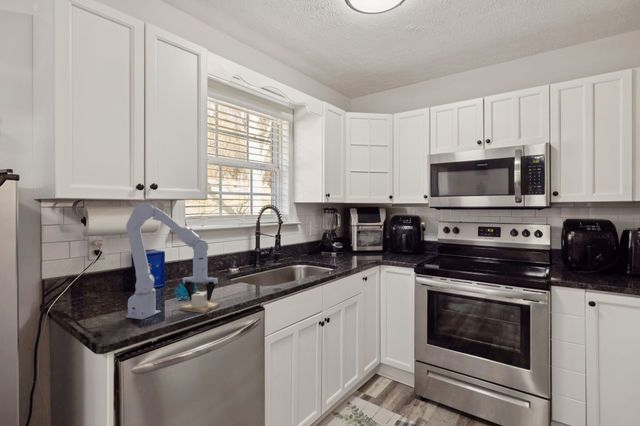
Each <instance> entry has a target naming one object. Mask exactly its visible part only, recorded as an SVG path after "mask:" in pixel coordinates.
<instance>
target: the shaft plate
mask: <svg viewBox="0 0 640 426" xmlns="http://www.w3.org/2000/svg"><path fill="white" fill-rule="evenodd" d="M220 305H221V304H220V303H218V302H209V301H208V304H207V305H206V306H205V307H192V302H190V303H188V304H186V305H182V306H180V307H179V308H180V309H179V310H180V311H186V312H195V313H202V314H206V313H208V312H209V311H212V310H213V309H216V308H218V307H220Z"/></svg>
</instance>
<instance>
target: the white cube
mask: <svg viewBox="0 0 640 426" xmlns="http://www.w3.org/2000/svg"><path fill="white" fill-rule="evenodd" d="M208 302H209V301H207V291H199V292H196V293H194V294H193V295H192V300H191V303H192V307H205V306H206V305H207V304H208Z"/></svg>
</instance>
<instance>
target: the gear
mask: <svg viewBox="0 0 640 426" xmlns="http://www.w3.org/2000/svg"><path fill="white" fill-rule="evenodd" d="M184 284H185V283H183V284H182V283H178V286H177V287H175V289H174V290H175V292H174V293H173V294H174V295H175V296H176V297H175V298H176V299H179V300H180V301H183V300H184V299H185V301H188V300H189V295H188V292H187V290H186V288H185V287H184ZM196 292H200V290H199V289H198V286H197V285H196V284H195V285H194V293H196Z"/></svg>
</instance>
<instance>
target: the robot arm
mask: <svg viewBox="0 0 640 426" xmlns="http://www.w3.org/2000/svg"><path fill="white" fill-rule="evenodd" d="M151 218H152V220H153V221H158V222H161V223H162V224H164V225H165V226H167V227H168V228H169V229H171V230H172V231H173V232H175V233H176V236H177V237H176V238H177V239H179V240H180V241H181V242H183V244H185V245H187V246H188V247H189V248H191V249H192V250H193V258H192V276H189V277H186V276H185V277H183V278H182V283H183V285H184V287H185V288H186V290H187V292H188V295H189V297H188V300H189V301H192V295H193V294H194V290H195V289H194V285H195V286H196V283H198V284H199V283H200V284H206V285H205V287H206V292H207V301H208V302H209V301H211V300H212V295H213V292H214V289H215V287H216V285H217V284H218V283H219V277H210V276H208V250H209V246H208V243H207V241H206V240H205V239H204V238H202V236H201V235H198V234H197V233H196V232H195V231H193V228H191V227H188V226H181V225H180V224H179V223H177V221H176V220H174V219H173V218H172V217H171V216H169V215H168V214H167V213H165V212H164V211H163V210H161V209H159V208H158V207H156V206H154V205H152V203H148V202H142V203H139V204H138V205H136V206H135V208H133V210H132V212H131V214H130V217H129V218H128V221H127V223H126V224H125V228H126V233H127V237H128V240H129V241H128V242H129V245H130V246H129V247H130V251H131V255H132V259H133V264H134V269H135V277H136V282H135V286H134V287H135V291H134V294H132V295H131V296H130V297H129V298H128V300H127V315H126V316H125V317H126V318H131V319H137V320H144V319H146V318H149V317H152V316H154V315H156V314H160V313H161V312H162V311H161V310H157V309H156V307H157V306H156V304H157V303H156V299H157V296H156V288H154V287H155V281H156V280H155V277H154V275H153V274H152V273H151V269H150V266H149V261H148V257H147V252H146V248H145V243H144V238H143V234H142V231H141V229H142V226H144V224H145V223H146V221H148V220H150V219H151ZM184 283H185V284H184Z"/></svg>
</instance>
